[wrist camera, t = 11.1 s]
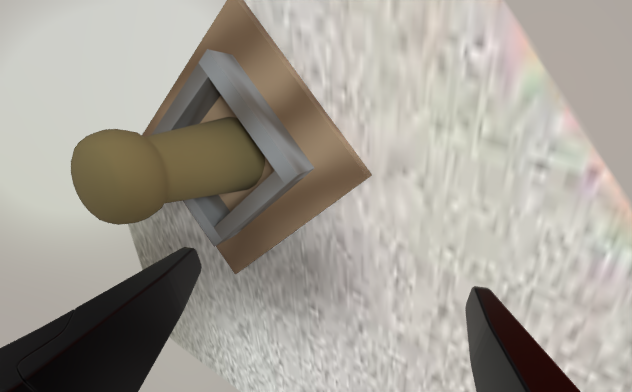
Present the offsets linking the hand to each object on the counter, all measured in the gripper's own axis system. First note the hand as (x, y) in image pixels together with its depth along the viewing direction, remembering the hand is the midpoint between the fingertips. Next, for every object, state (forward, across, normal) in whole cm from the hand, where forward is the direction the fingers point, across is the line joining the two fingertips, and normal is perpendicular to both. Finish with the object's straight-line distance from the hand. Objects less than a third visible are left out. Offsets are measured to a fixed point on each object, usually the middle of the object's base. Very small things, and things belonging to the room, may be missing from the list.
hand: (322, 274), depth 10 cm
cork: (+14, +10, +3) cm, 18 cm away
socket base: (+15, +10, +3) cm, 18 cm away
